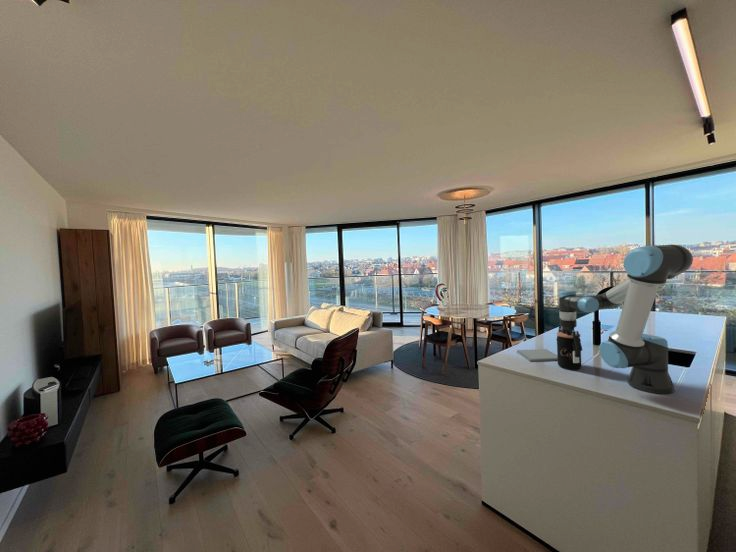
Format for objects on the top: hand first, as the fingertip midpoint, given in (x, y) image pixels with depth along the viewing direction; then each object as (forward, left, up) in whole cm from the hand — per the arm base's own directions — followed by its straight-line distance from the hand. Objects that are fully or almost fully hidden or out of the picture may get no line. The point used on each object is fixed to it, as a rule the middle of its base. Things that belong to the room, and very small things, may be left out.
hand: (569, 358), depth 162 cm
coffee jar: (0, 0, -5) cm, 5 cm away
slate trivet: (+19, +7, -4) cm, 21 cm away
